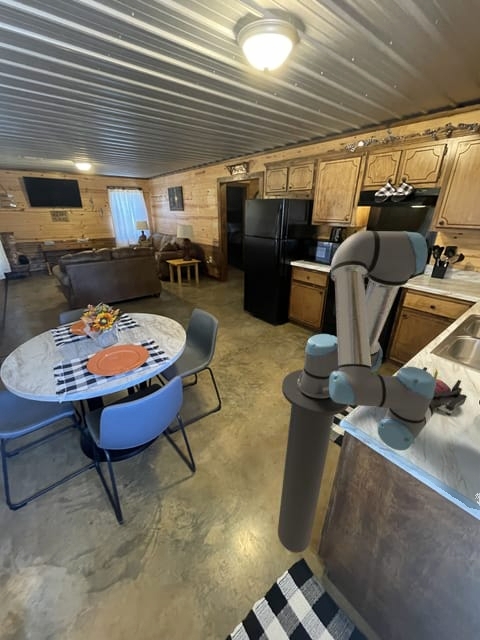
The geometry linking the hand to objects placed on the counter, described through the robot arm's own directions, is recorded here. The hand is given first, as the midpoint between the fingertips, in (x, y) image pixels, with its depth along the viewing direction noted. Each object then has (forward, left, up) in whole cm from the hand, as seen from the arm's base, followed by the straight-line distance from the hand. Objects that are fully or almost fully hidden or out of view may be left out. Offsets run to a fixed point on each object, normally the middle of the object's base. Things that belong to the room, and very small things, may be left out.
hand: (440, 377), depth 84 cm
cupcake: (0, -5, -7) cm, 8 cm away
